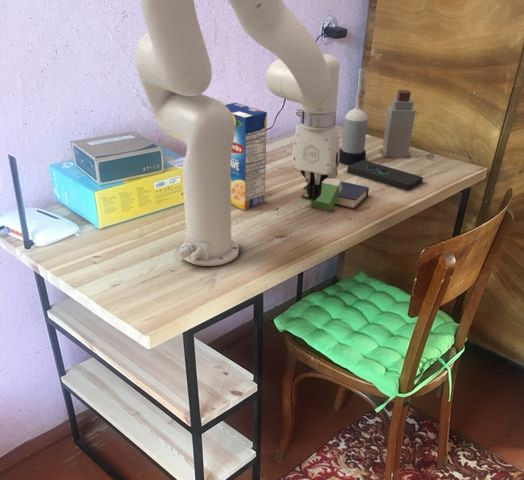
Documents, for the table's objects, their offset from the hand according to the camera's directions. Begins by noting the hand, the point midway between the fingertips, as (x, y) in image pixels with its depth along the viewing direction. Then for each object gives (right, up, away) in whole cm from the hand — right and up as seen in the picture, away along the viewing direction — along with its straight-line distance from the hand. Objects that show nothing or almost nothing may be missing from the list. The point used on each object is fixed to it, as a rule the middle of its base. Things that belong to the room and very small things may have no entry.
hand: (313, 197), depth 139 cm
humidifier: (+14, +20, +36) cm, 44 cm away
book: (+7, +4, +13) cm, 15 cm away
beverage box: (-18, +2, +11) cm, 21 cm away
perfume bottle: (+29, +24, +42) cm, 56 cm away
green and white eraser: (+4, +3, +7) cm, 8 cm away
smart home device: (+22, +12, +26) cm, 36 cm away
